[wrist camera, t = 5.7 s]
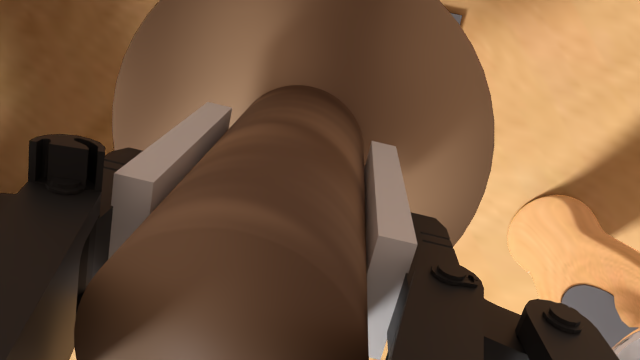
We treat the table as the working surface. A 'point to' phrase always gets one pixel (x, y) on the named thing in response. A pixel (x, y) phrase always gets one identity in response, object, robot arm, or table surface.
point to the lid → (282, 172)
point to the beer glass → (580, 267)
